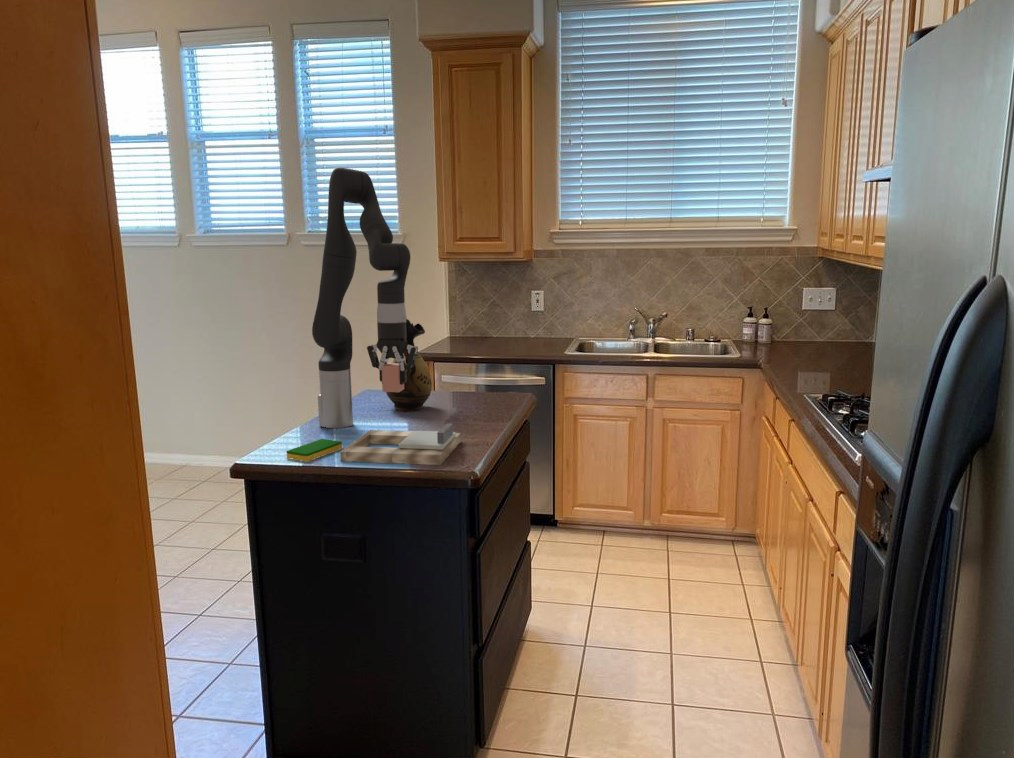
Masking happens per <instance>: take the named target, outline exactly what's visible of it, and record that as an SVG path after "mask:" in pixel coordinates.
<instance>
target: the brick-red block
mask: <svg viewBox="0 0 1014 758" xmlns="http://www.w3.org/2000/svg"><path fill="white" fill-rule="evenodd" d="M400 371H401V370H400V367H399V364H398V363H392V362H387V364H385V365H382V382H381V385H382V392H383V393H386V392H400V391H402V390H404V384H403V385H400Z"/></svg>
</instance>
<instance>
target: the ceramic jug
mask: <svg viewBox="0 0 1014 758" xmlns="http://www.w3.org/2000/svg"><path fill="white" fill-rule="evenodd" d="M425 333H426V331H425V329H424V327H423V325H422V324H420V323H418V322H417V323H416V324H414V323H413V322H412V323H411V321H410V320H409V319H408V318H406V340H407V342H408V345H411V346H415V342H414V341H415V339H416V337H419V336H421V335H424V334H425ZM404 356H405V359H406V360H405V361H406V364H407V362H408V358H409V353H408V349H406V351H405V352H404ZM391 363H397V360H396V359H394V358H393V360H392V362H391ZM432 388H433V382H432V377H431V373H430V369H429V367H428V365H427V364H426V362H425V360H424V358H423V356H422V355H421V353H420V352H419V350H418V351H417V355H416V359H415V363H414V366H413V367H412V368H410V369H407V381H406V382H405V384H404V390H402V391H400V392H385V393H386V395H387V397H388V398H389V400H390V401H391V402H392V403H393V404H394V405H393V408H394V409H396V410H397V411H402V412H411V411H412V412H415V411H416V410H417V411H421V409H423V406H424V405H425V403H426V402H427V400H428V399H429V398H430V396H431V392H432V390H433V389H432Z"/></svg>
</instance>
